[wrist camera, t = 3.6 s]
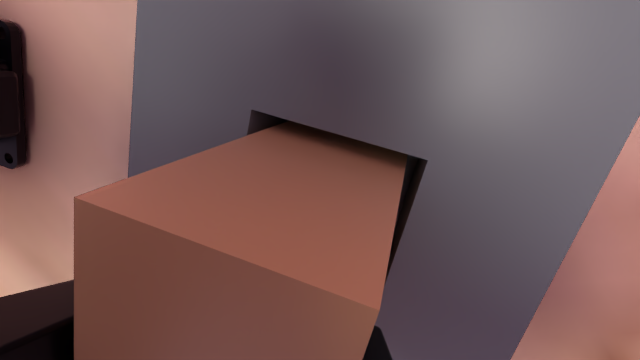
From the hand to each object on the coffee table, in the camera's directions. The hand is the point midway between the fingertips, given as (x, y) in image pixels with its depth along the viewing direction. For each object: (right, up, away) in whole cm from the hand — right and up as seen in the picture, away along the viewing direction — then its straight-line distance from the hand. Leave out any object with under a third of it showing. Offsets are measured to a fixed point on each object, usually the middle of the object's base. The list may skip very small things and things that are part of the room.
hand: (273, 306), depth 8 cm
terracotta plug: (+1, +1, +5) cm, 5 cm away
